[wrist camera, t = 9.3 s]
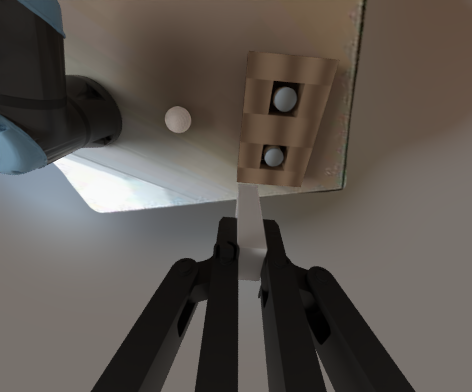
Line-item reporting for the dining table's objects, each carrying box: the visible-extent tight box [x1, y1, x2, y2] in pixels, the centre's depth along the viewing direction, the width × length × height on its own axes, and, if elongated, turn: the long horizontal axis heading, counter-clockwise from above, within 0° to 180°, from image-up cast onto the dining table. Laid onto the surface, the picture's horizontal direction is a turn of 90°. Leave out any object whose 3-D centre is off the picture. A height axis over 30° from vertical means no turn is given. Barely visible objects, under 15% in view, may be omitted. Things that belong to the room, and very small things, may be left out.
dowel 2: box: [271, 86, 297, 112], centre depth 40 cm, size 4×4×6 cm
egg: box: [165, 106, 191, 133], centre depth 42 cm, size 5×5×8 cm
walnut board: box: [237, 51, 339, 187], centre depth 43 cm, size 16×26×6 cm, turn 175°
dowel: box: [263, 144, 283, 166], centre depth 46 cm, size 4×4×6 cm
